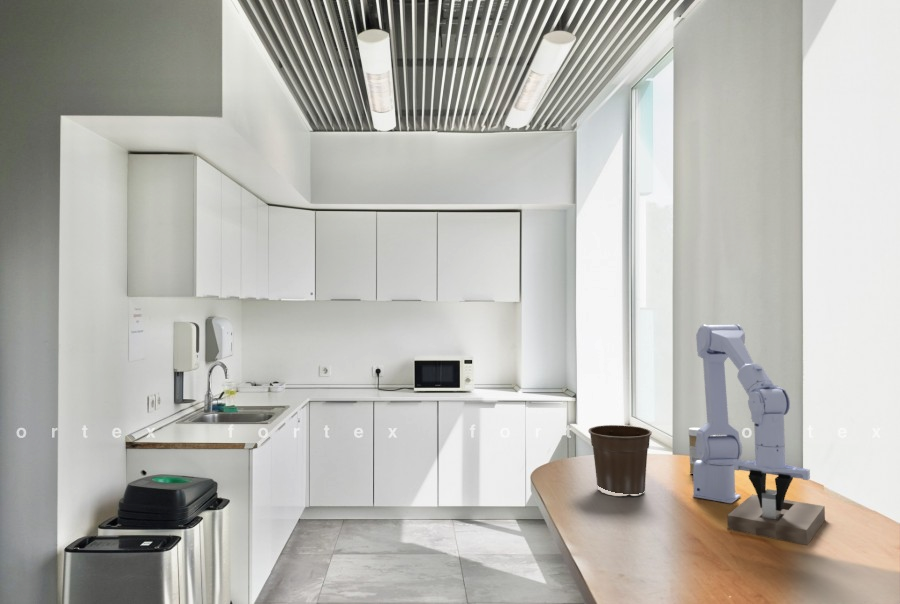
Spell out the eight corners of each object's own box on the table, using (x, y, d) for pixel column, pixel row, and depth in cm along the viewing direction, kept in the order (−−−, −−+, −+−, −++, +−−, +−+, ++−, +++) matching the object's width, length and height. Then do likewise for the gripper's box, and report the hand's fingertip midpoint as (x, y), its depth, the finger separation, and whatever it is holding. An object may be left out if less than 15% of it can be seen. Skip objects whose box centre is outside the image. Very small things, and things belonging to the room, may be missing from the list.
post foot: (727, 529, 131) (727, 515, 131) (752, 506, 146) (752, 494, 146) (806, 545, 121) (806, 530, 121) (825, 519, 137) (824, 506, 137)
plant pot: (643, 504, 150) (642, 438, 150) (580, 494, 158) (579, 432, 159) (659, 488, 163) (658, 428, 164) (600, 480, 172) (599, 423, 172)
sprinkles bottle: (709, 475, 176) (708, 428, 177) (700, 477, 174) (699, 430, 174) (695, 472, 180) (694, 426, 181) (686, 474, 178) (685, 428, 178)
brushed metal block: (762, 526, 129) (761, 492, 130) (767, 521, 133) (767, 489, 133) (776, 528, 128) (775, 495, 128) (781, 524, 131) (780, 491, 131)
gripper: (728, 443, 132) (730, 506, 132) (804, 452, 123) (806, 519, 123) (737, 438, 138) (739, 498, 137) (811, 446, 128) (813, 511, 128)
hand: (771, 508), depth 130 cm, fingers closed on brushed metal block, 3 cm apart
